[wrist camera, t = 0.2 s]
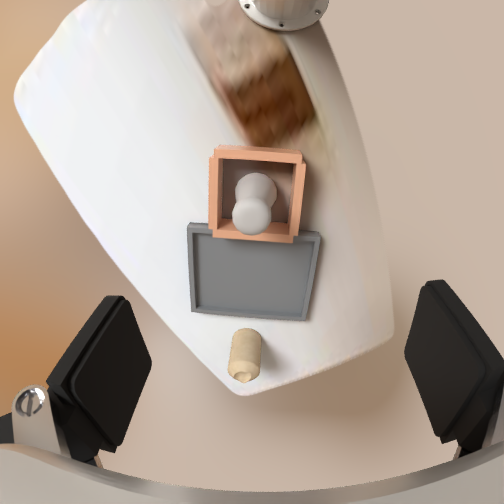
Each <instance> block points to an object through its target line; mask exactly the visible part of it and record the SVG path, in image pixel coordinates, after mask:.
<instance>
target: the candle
mask: <svg viewBox="0 0 504 504" xmlns="http://www.w3.org/2000/svg"><path fill="white" fill-rule="evenodd" d="M260 356H261V336H260V334H259V333H258V332H257V331H255V330H253V329H249V328H244V329H240V330H238V331H236V332H235V333H234V335H233V339H232V345H231V352H230V358H229V364H228V373H229V375H230V376H232V377H233V378H234V379H236V380H238V381H240V382H242V383H246V382H248V381H251V380H253V379H255V378H257V377H258V375H259V373H260Z"/></svg>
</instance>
